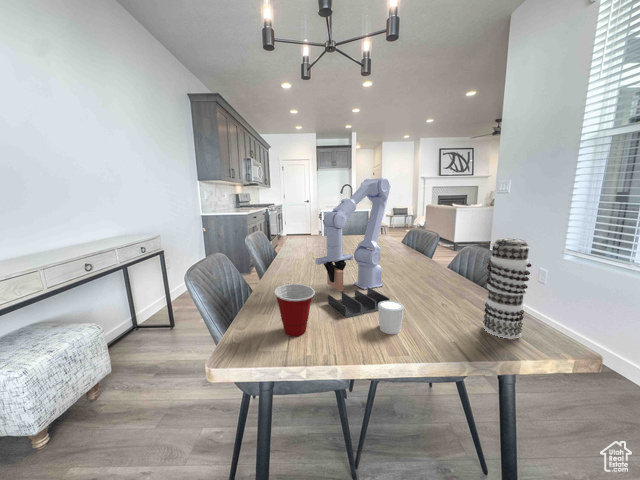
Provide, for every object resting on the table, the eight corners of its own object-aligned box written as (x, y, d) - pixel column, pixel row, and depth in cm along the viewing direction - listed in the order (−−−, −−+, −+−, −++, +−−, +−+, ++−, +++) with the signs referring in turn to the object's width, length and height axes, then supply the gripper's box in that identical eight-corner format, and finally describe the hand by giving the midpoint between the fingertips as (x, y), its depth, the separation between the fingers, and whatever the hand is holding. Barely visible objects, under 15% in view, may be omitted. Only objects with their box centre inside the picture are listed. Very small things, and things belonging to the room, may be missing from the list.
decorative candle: (496, 320, 75) (504, 235, 71) (531, 336, 67) (543, 240, 63) (473, 326, 72) (480, 238, 68) (507, 343, 63) (518, 243, 60)
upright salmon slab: (331, 282, 100) (331, 265, 99) (343, 290, 92) (343, 271, 91) (327, 283, 100) (327, 266, 98) (338, 291, 92) (338, 272, 90)
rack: (368, 296, 96) (368, 287, 95) (389, 308, 85) (389, 298, 84) (328, 303, 89) (327, 294, 88) (345, 318, 78) (345, 307, 77)
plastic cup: (300, 347, 63) (298, 300, 61) (267, 335, 69) (265, 292, 67) (323, 328, 72) (322, 287, 70) (292, 319, 78) (291, 281, 76)
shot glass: (403, 325, 73) (404, 301, 72) (402, 337, 67) (403, 311, 66) (378, 321, 76) (379, 298, 74) (375, 333, 69) (376, 308, 68)
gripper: (346, 241, 100) (346, 275, 102) (311, 245, 94) (312, 280, 96) (356, 244, 94) (355, 280, 96) (319, 248, 88) (320, 286, 90)
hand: (334, 281), depth 96 cm, fingers closed on upright salmon slab, 2 cm apart
